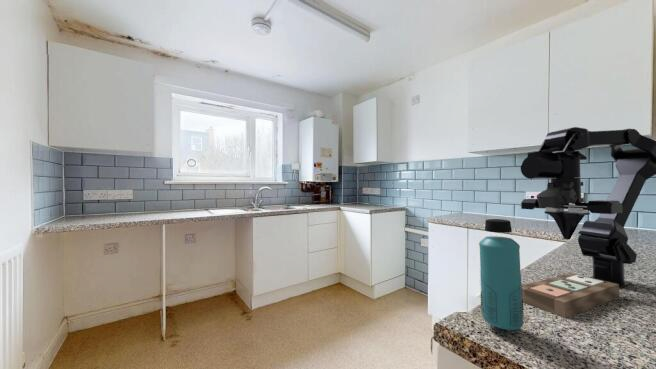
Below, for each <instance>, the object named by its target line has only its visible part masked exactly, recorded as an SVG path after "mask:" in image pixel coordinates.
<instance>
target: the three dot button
mask: <svg viewBox="0 0 656 369" xmlns="http://www.w3.org/2000/svg"><path fill="white" fill-rule="evenodd" d="M549 284H550V285H553V286H557V287H560V288H564V289H568V290H571V291H575V292H578V291H581V290H585V289H588V287H587V286H583V285H579V284H576V283H572V282H568V281H564V280H558V281H554V282H551V283H549Z"/></svg>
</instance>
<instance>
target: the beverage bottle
mask: <svg viewBox="0 0 656 369" xmlns="http://www.w3.org/2000/svg"><path fill="white" fill-rule="evenodd" d="M484 223H485V225H484V231H486V232H491V233H499V234H500V233H503V234H504V233H512V229H513V228H512V224H511V221H510V220H508V219H500V218H490V219H485V222H484ZM478 246H479V261H480V262H479V263H480V264H479V266H480V268H479V273H480V274H479V276H480V281H479V283H480V289H479V290H480V310H481V316H482V319H483V320H484V321H485V323H486V324H487V323H488V324H489V325H491V326H493V327H495V328H498V329H503V330H506V331H507V330H508V331H515V330H520V329H522V328H523V325H524V323H525V322H524V319H525V315H524V309H525V308H524V303H523V298H522V296H523V294H522V292H523V290H522V287H523V285H524V284H523V281H522V277H523V276H522V273H521V254H520V253H521V252H520V248H521V247H520V244H519V243H518V242H517V241H515V240H514V239H513V238H511V237H507V236H497V235H495V236H494V235H490V236H485V237H484V238H483V239H481V240H480V241H479V242H478ZM521 286H522V287H521Z"/></svg>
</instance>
